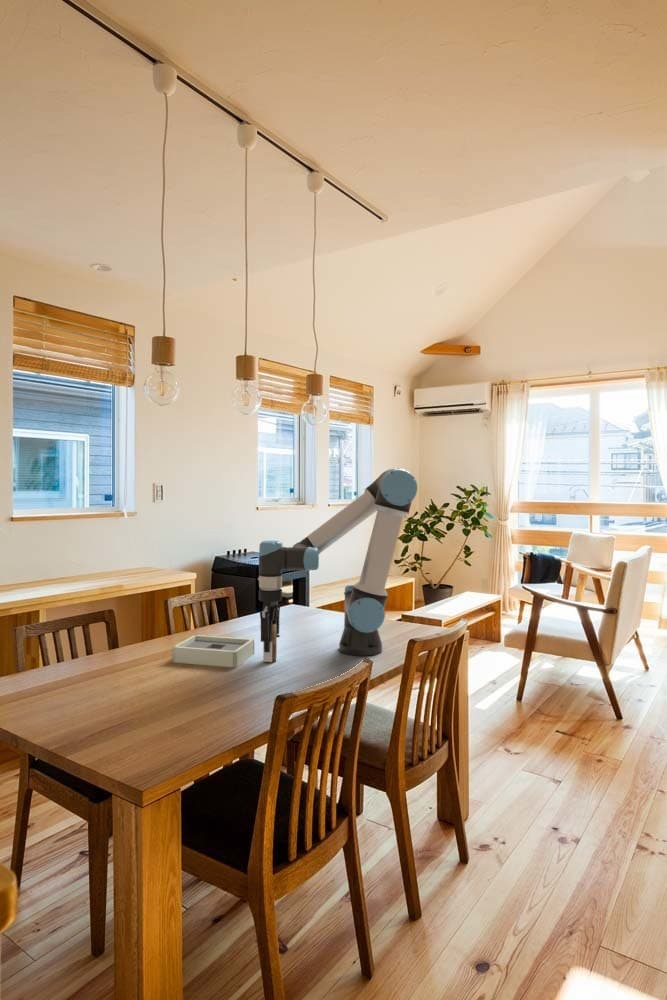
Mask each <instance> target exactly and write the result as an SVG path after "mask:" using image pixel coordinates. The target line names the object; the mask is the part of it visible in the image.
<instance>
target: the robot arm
mask: <svg viewBox="0 0 667 1000" xmlns="http://www.w3.org/2000/svg"><path fill="white" fill-rule="evenodd" d="M417 494H418V482H417V480H416V478H415V476H414V474H412V473H411V472H409V470H406V469H404V468H398V467H397V468H391V469H387V470H386V471H385V470H384V472H382V473H381V474H380V475H379V476H378V477H377V478H376V479H375V480H374V481H373V482H371V484H369V486H367V487H366V488H364V491H363V493H362V494H361V495H359V497H356V499H355V500H353V501H352V502H351V503H349V504H348V505H346V506H345V507H344V508H343V509H341V510H340V511H339V512H337V513H336V514H334V515H333V516H332V517H330V519H328V520H327V521H324V523H322V524H321V525H320V526H318V527H317V528H316V529H315V530H313V531H312V532H311V533H309V534H308V535H307V536H306V537H304V538H303V539H302V540H300V541H298V542H296V543H295V544H293V546H291V547H289V546H288V547H287V546H284V545H283V542H282V541H280V540H263V541H261V542H260V543H259V549H258V550H259V551H258V577H257V581H258V587H259V589H258V600H259V602H263V606H262V611H261V610H260V611H259V617H260V642H261V643H263V651H262V653H263V662H264V663H265V662H272V641H271V634H272V624H276V659H277V658H278V657H277V656H278V654H277V650H278V649H277V648H278V647H277V645H278V642H277V640H278V639H277V638H280V610H281V604H279V603H278V602H281V601H282V599H283V589H282V588H283V571H307V572H309V571H317V570H318V569H319V563H320V562H319V561H320V559H319V558H320V557H319V556H320V554H322V553H323V552H324V551H325V550H327V549H328V548H329V547H331V546H332V545H334V544H335V543H336V542H338V540H340V539H341V538H343V537H344V536H345V535H346V534H348V533H350V532H351V531H352V530H353V529H355V528H356V527H358V526H359V525H360V524H361V523H362V522H364V521H365V520H366V519H368V518H369V517H370V516H372V515H373V514H374V513H376V514H375V515H376V516H375V518H374V522H373V526H372V531H371V535H370V539H369V542H368V546H367V550H366V554H365V558H364V561H363V566H362V570H361V574H360V577H359V580H358V582H356V583H354V584H348V585H346V586H345V588H344V592H343V595H344V628H343V631H342V633H341V637H340V640H339V643H338V646H339V647H338V651H340V652H341V653H342V654H346V655H351V656H357V657H358V656H360V657H362V656H364V657H365V656H373V655H378V654H380V653H382V652H383V642H382V640H381V636H380V632H379V629H380V628H381V626H382V625H383V624H384V622H385V621H384V620H385V619H386V613H385V612H386V611H385V607H386V603H387V599H388V595H389V594H388V592H387V590H386V585H387V584H386V583H387V581H388V576H389V573H390V569H391V565H392V561H393V558H394V554H395V549H396V545H397V542H398V539H399V535H400V529H401V526H402V522H403V518H404V517H406V516H407V515H409V514H410V510H411V505H412V503H413V501H414V499H415V498H416V496H417Z"/></svg>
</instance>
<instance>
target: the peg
mask: <svg viewBox="0 0 667 1000" xmlns="http://www.w3.org/2000/svg"><path fill="white" fill-rule="evenodd" d="M276 638H277V637H276V624H272V634H271V641H272V662H264V663H266V664H273V663H276V662H277V658H276Z"/></svg>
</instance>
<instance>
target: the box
mask: <svg viewBox="0 0 667 1000" xmlns="http://www.w3.org/2000/svg"><path fill="white" fill-rule="evenodd" d="M171 648H172V656H171V657H172V660H171V661H172V663H177V664H188V665H200V666H209V667H222V668H234V669H236V668H238V667H239V666H240V665H241V664H243V663H245V662H246V661H247V660H248V659H249V658H251V657H252V656H253V655H254V654H255V639H253V638H244V637H243V638H240V637H231V636H230V637H227V636H216V635H215V636H214V635H202V634H199V635H198V634H194V635H192V636H190V637H189V638H186V639H184V640H183V641H181V642H179V643H177V644H175V645H174V646H172V647H171Z"/></svg>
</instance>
